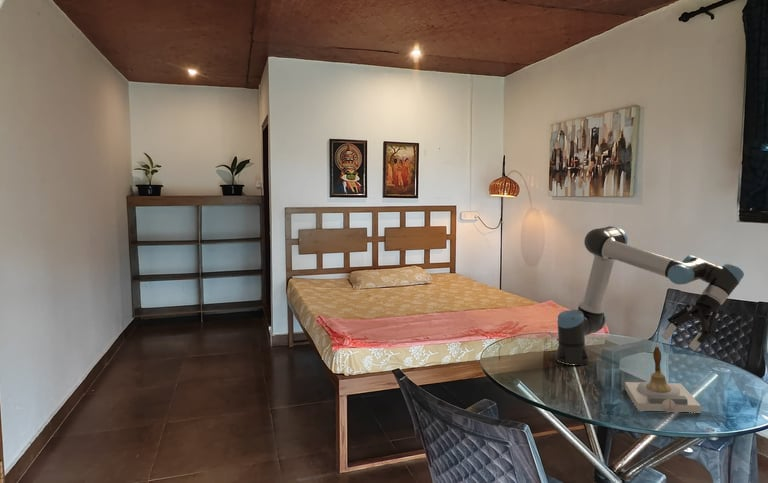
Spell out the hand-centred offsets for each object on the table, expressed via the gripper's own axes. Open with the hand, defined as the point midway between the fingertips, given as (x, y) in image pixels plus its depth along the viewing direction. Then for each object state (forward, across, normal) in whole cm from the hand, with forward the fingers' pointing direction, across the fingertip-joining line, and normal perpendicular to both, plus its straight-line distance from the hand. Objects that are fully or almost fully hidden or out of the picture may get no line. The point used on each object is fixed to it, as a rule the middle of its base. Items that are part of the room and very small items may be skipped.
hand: (677, 343), depth 181 cm
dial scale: (+21, -1, -8) cm, 23 cm away
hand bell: (+18, 0, -6) cm, 19 cm away
